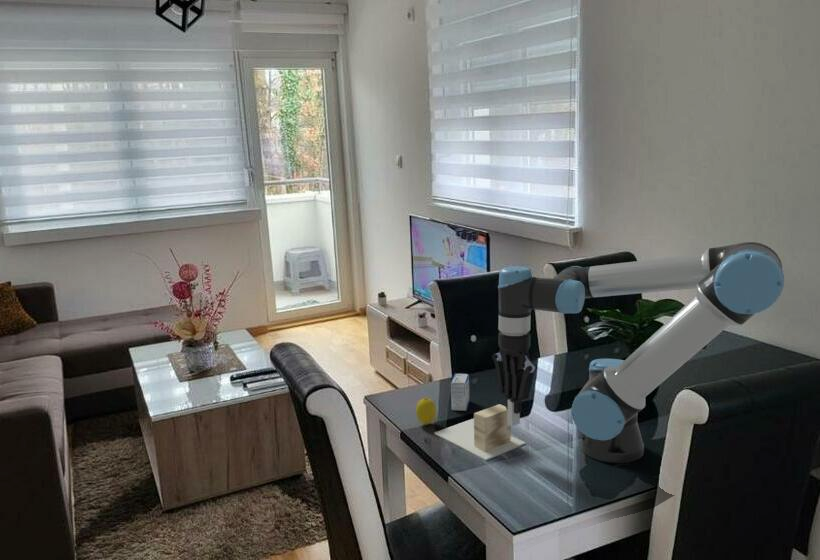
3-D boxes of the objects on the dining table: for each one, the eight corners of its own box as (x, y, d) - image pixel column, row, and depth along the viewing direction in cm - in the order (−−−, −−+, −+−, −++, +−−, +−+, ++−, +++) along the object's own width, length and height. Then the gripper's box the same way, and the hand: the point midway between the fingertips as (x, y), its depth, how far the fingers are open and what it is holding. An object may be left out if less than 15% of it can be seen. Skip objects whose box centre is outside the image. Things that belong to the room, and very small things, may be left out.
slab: (485, 451, 166) (484, 418, 164) (474, 446, 169) (473, 413, 167) (510, 441, 171) (510, 408, 169) (499, 436, 174) (499, 404, 172)
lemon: (413, 422, 185) (412, 395, 184) (431, 419, 187) (431, 392, 186) (420, 430, 180) (419, 402, 179) (439, 426, 182) (438, 399, 181)
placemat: (525, 444, 170) (525, 442, 170) (485, 460, 162) (485, 459, 162) (473, 419, 186) (473, 418, 186) (434, 433, 178) (434, 432, 178)
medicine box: (466, 411, 192) (465, 383, 190) (451, 410, 193) (450, 382, 191) (469, 400, 200) (469, 373, 198) (454, 400, 200) (454, 373, 199)
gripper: (546, 334, 154) (544, 428, 159) (506, 322, 164) (505, 411, 169) (523, 340, 150) (522, 437, 155) (483, 328, 160) (484, 419, 165)
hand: (513, 423), depth 162 cm, fingers closed
